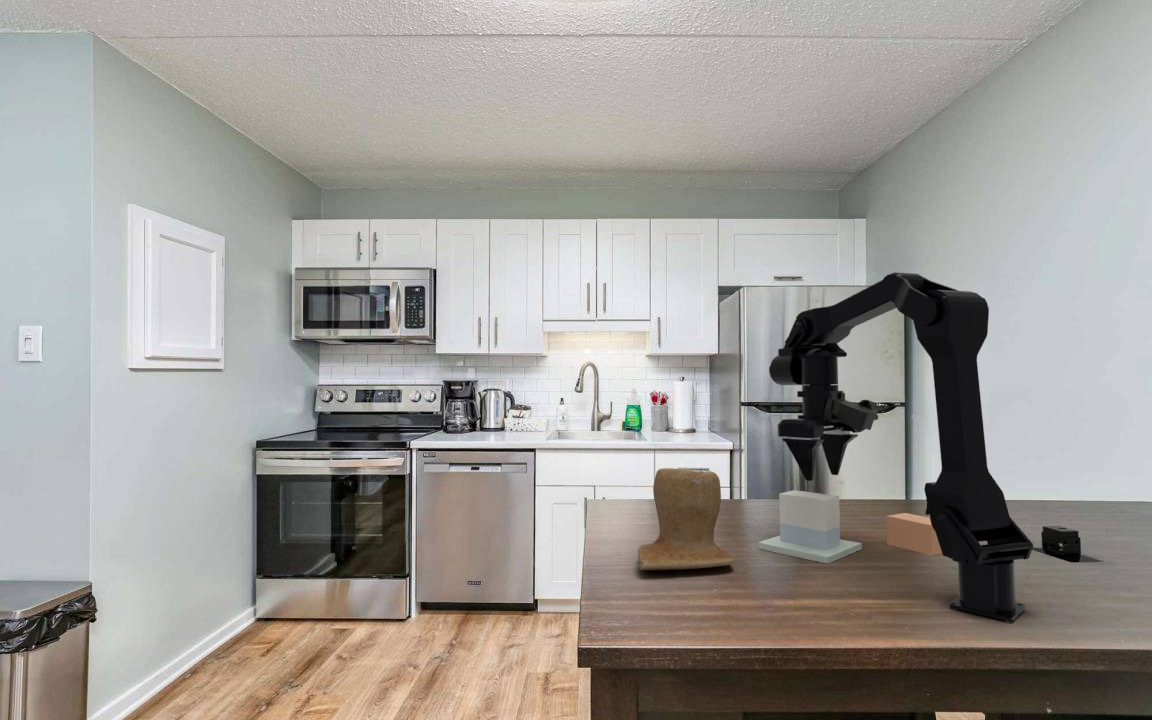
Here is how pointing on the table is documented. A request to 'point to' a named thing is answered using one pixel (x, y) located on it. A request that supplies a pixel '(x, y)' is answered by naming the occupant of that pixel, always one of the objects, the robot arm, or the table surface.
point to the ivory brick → (809, 510)
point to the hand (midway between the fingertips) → (822, 477)
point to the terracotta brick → (912, 533)
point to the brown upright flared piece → (685, 522)
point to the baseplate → (810, 551)
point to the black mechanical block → (1069, 541)
